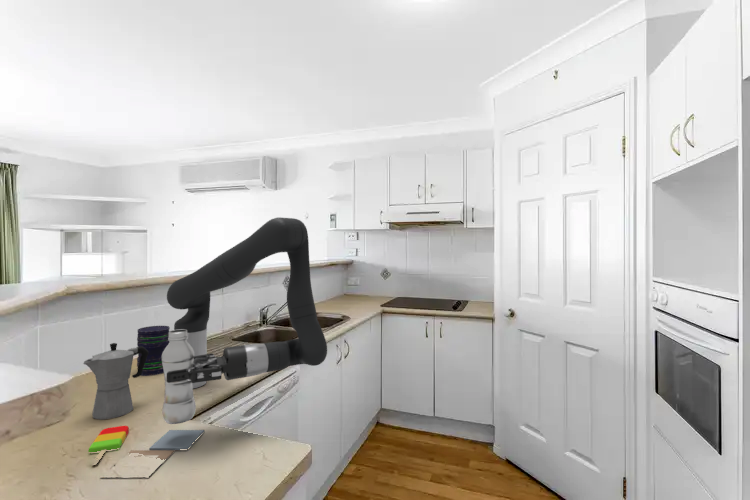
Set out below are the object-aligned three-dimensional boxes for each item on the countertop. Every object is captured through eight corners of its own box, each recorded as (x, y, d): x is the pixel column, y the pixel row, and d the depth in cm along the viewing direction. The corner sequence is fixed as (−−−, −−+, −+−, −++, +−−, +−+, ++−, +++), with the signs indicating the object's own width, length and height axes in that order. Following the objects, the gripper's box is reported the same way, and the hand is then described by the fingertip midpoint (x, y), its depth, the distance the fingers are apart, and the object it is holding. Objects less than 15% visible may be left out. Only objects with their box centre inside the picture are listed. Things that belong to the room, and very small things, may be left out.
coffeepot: (93, 426, 90) (93, 351, 90) (74, 417, 95) (74, 346, 95) (157, 403, 103) (157, 338, 103) (138, 397, 108) (138, 334, 108)
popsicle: (130, 432, 88) (130, 424, 88) (111, 466, 74) (111, 457, 74) (102, 436, 86) (102, 428, 86) (77, 472, 72) (77, 462, 72)
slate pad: (169, 432, 87) (169, 429, 87) (204, 432, 87) (204, 429, 87) (149, 450, 79) (149, 448, 79) (187, 450, 79) (187, 448, 79)
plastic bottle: (182, 429, 79) (181, 334, 79) (154, 426, 81) (153, 333, 81) (202, 415, 86) (201, 328, 86) (176, 413, 87) (175, 327, 87)
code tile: (131, 452, 79) (131, 450, 79) (174, 452, 79) (174, 450, 79) (100, 478, 70) (100, 476, 70) (148, 478, 70) (148, 476, 70)
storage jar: (175, 367, 135) (176, 325, 135) (157, 376, 125) (157, 331, 125) (150, 366, 136) (150, 325, 136) (129, 375, 126) (130, 331, 126)
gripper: (239, 339, 97) (165, 348, 88) (252, 352, 84) (167, 364, 76) (239, 368, 97) (165, 380, 88) (252, 385, 84) (167, 401, 76)
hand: (166, 373), depth 82 cm, fingers closed on plastic bottle, 6 cm apart
